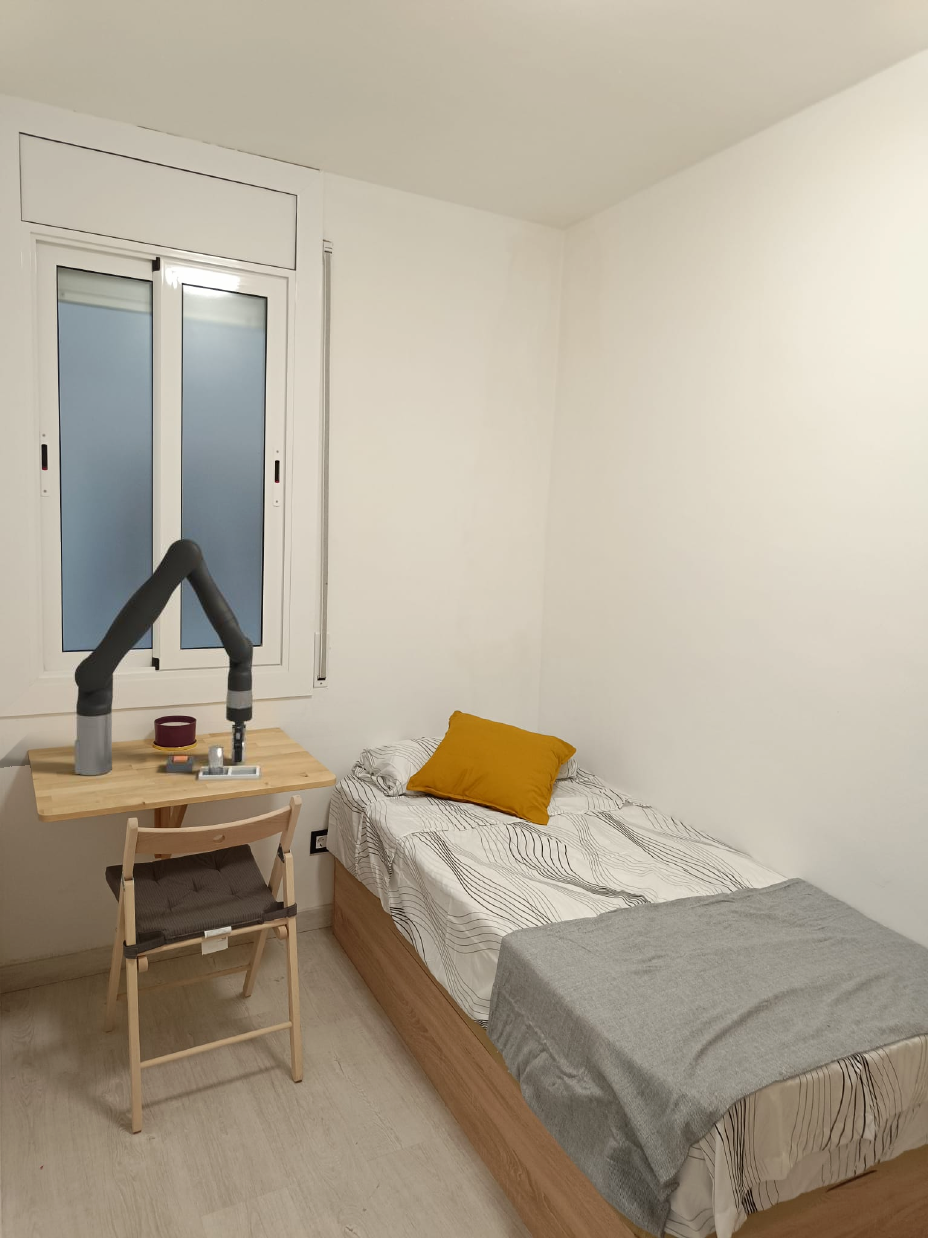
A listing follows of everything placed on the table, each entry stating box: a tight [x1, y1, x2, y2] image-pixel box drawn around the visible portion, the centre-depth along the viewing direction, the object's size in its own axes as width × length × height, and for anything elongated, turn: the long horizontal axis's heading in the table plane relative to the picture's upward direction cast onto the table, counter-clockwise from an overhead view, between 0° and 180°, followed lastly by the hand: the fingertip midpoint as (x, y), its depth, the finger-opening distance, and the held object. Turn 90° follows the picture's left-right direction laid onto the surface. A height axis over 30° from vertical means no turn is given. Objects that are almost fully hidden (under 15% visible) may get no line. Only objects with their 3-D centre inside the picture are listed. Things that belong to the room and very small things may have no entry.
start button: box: [173, 755, 189, 762], centre depth 242 cm, size 4×4×2 cm
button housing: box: [165, 755, 195, 774], centre depth 242 cm, size 7×7×4 cm
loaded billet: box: [207, 745, 224, 775], centre depth 239 cm, size 4×4×8 cm
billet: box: [230, 737, 247, 766], centre depth 250 cm, size 4×4×8 cm
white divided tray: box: [196, 765, 262, 782], centre depth 240 cm, size 17×10×2 cm, turn 103°
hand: (238, 759), depth 251 cm, fingers closed on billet, 4 cm apart
